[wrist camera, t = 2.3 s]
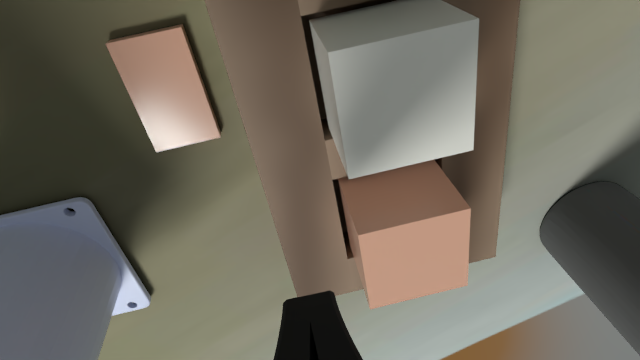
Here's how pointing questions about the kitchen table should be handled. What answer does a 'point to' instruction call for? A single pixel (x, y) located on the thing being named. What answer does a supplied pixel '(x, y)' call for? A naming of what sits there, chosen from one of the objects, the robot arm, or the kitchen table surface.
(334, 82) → the white cube
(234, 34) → the brown wooden tray
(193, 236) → the kitchen table surface
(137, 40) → the tile
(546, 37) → the kitchen table surface
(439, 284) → the salmon cube
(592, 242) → the bottle
